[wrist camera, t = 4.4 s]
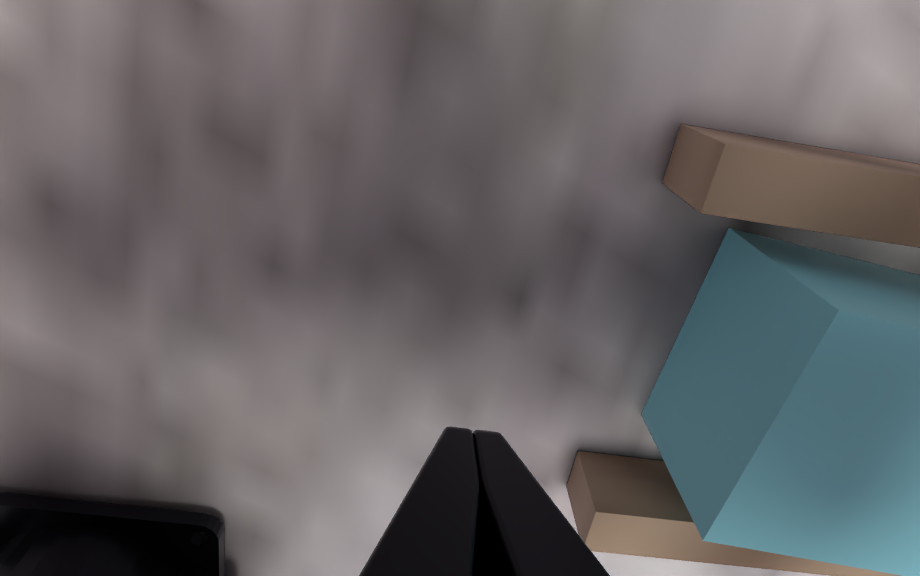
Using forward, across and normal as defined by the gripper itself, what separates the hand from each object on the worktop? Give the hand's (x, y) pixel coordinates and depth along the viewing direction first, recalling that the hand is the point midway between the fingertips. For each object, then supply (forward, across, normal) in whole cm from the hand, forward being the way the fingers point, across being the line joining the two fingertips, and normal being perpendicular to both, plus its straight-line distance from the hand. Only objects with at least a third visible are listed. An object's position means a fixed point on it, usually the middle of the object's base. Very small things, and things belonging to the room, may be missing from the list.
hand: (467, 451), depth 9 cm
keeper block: (+5, -9, 0) cm, 10 cm away
